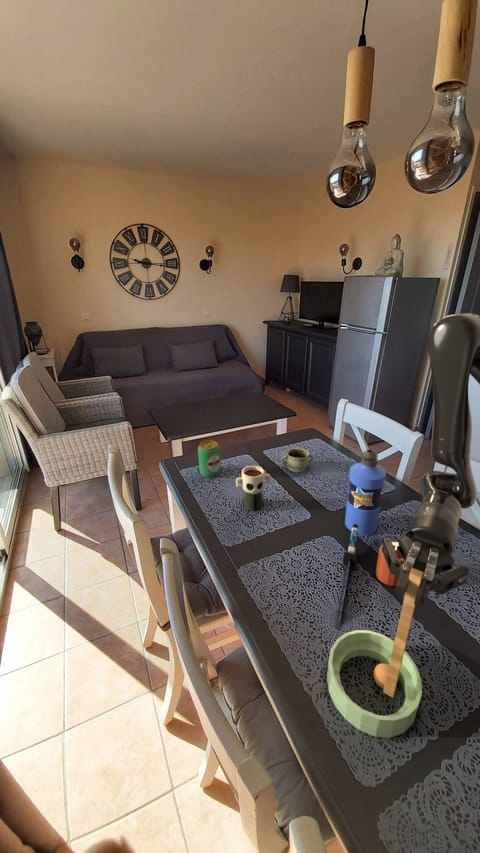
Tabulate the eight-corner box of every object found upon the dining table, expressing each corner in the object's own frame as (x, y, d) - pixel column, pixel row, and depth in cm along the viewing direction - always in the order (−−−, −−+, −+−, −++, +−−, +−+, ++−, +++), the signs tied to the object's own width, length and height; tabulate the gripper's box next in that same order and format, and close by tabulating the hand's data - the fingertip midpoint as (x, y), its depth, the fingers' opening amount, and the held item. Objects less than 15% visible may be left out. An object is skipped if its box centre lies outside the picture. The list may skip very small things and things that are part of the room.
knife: (351, 533, 102) (352, 521, 100) (362, 536, 101) (364, 524, 98) (325, 632, 78) (326, 619, 76) (339, 637, 77) (340, 625, 75)
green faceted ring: (398, 652, 72) (403, 631, 69) (430, 744, 58) (437, 723, 56) (321, 648, 73) (323, 628, 70) (334, 738, 59) (337, 717, 57)
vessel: (284, 474, 134) (284, 459, 132) (279, 462, 142) (279, 448, 140) (315, 471, 135) (316, 457, 133) (309, 460, 143) (310, 446, 141)
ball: (368, 665, 65) (375, 660, 68) (373, 692, 64) (380, 685, 67) (390, 666, 63) (396, 661, 66) (396, 694, 62) (402, 687, 65)
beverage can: (206, 480, 132) (203, 451, 127) (196, 471, 138) (193, 443, 133) (225, 474, 136) (223, 445, 131) (214, 465, 142) (212, 438, 137)
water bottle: (348, 512, 113) (357, 440, 102) (379, 521, 108) (391, 447, 98) (340, 530, 105) (348, 454, 95) (373, 540, 101) (385, 462, 91)
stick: (385, 685, 62) (412, 567, 55) (395, 690, 61) (423, 572, 54) (382, 692, 61) (409, 573, 54) (392, 698, 60) (421, 577, 53)
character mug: (239, 514, 113) (238, 479, 108) (235, 501, 120) (233, 467, 114) (272, 509, 115) (273, 474, 110) (266, 497, 121) (266, 463, 116)
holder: (396, 570, 91) (402, 542, 87) (405, 590, 85) (411, 561, 82) (372, 569, 91) (376, 541, 88) (379, 589, 86) (384, 560, 82)
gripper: (395, 502, 67) (365, 558, 55) (481, 528, 60) (469, 601, 47) (390, 533, 70) (360, 594, 58) (471, 563, 63) (457, 640, 50)
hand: (409, 597), depth 52 cm, fingers closed on stick, 1 cm apart
